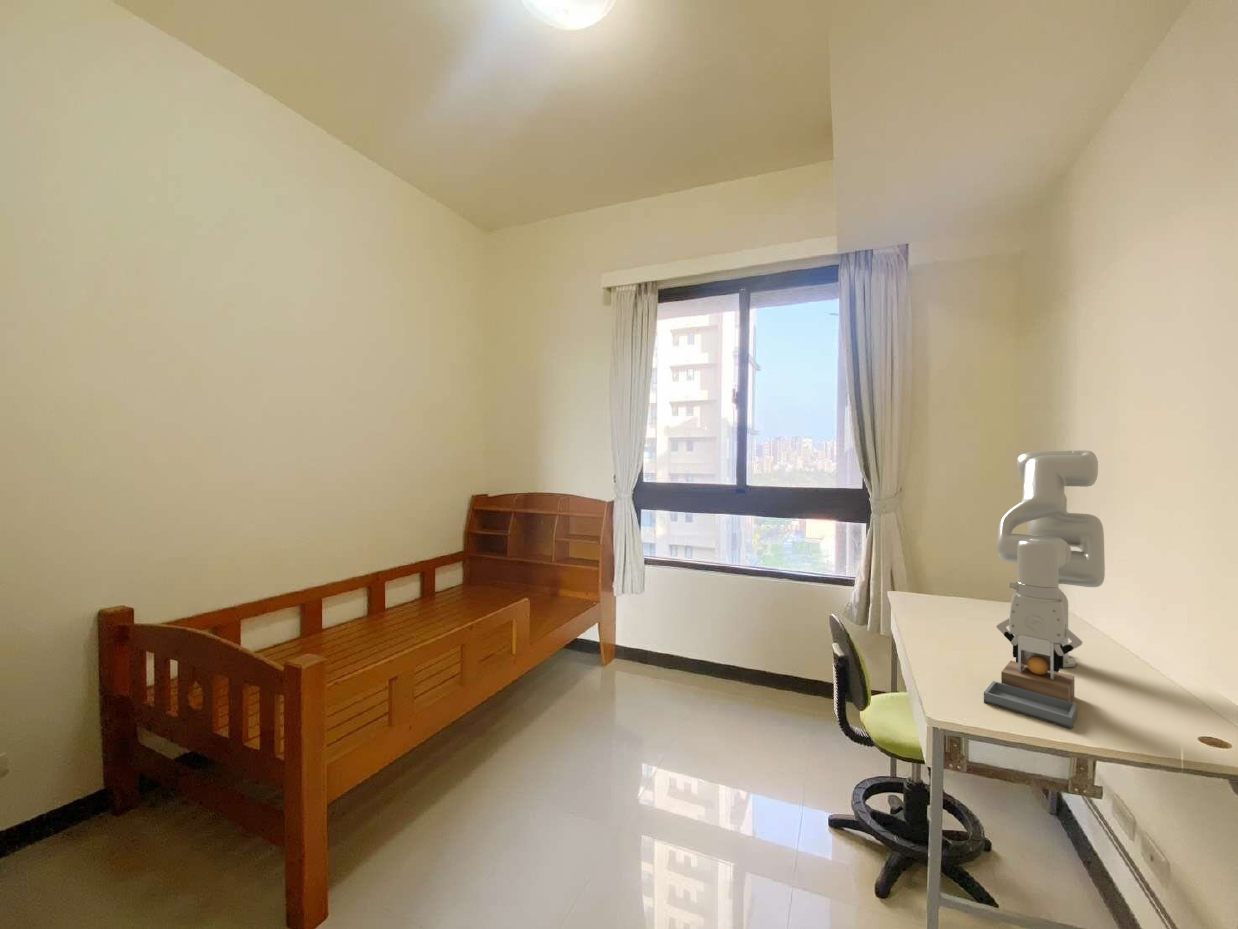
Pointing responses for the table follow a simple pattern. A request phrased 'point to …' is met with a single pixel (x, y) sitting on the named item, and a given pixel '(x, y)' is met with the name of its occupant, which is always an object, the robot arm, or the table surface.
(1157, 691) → the table surface
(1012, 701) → the tray
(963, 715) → the table surface
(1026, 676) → the stand
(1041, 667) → the ball
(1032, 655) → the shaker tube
